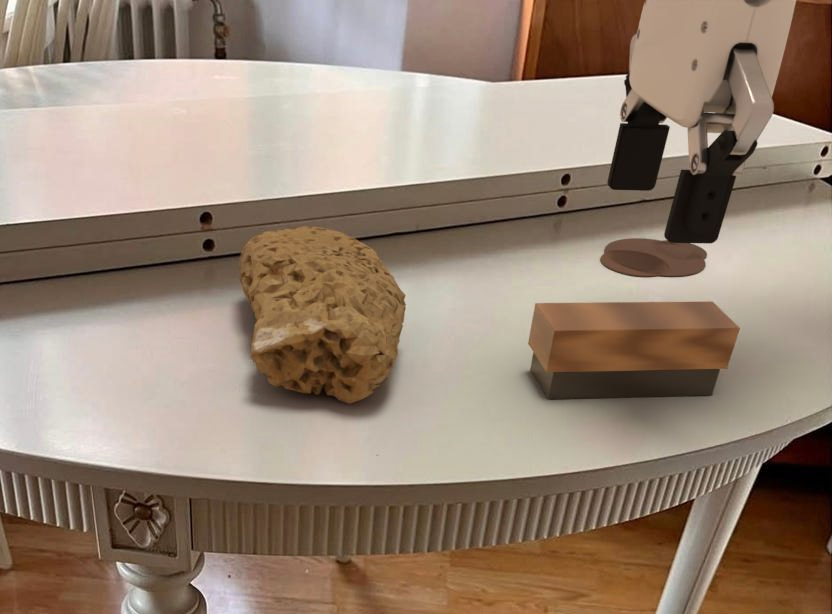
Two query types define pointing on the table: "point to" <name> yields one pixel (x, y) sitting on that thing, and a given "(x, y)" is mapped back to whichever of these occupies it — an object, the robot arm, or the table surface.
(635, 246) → the coffee spill
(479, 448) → the table surface
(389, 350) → the sponge
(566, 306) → the brush
